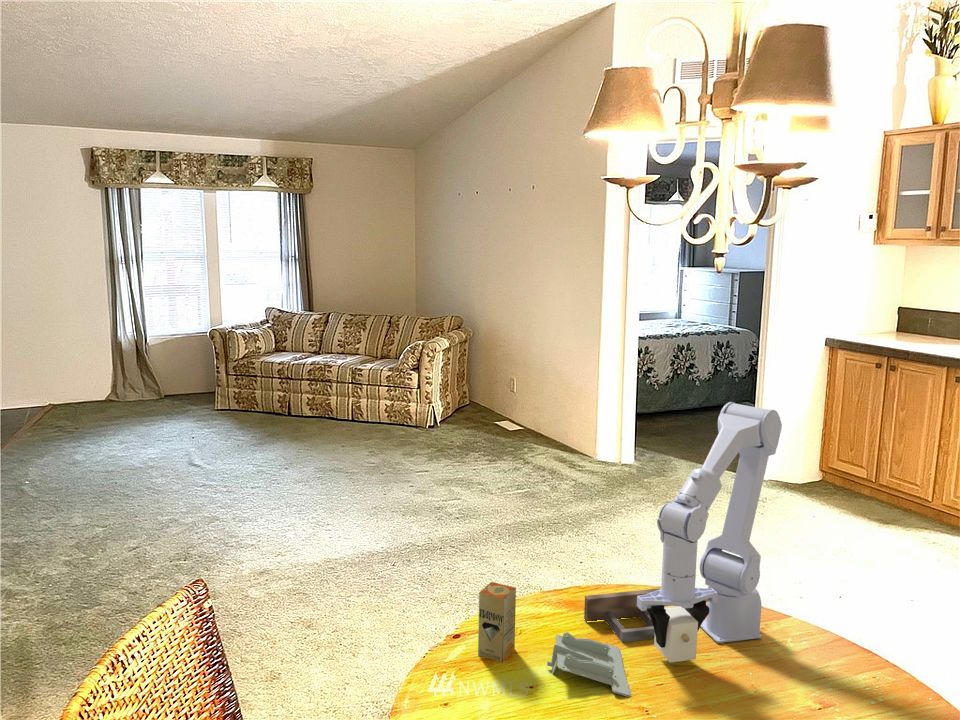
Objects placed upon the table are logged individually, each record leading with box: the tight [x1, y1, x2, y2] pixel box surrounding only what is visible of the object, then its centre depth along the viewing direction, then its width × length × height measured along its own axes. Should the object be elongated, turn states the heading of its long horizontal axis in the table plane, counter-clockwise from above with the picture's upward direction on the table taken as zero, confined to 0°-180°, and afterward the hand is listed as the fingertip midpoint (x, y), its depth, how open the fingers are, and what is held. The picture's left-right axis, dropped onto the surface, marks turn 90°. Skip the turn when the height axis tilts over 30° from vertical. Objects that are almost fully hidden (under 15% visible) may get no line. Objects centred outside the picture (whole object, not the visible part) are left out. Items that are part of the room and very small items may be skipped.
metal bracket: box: [546, 631, 632, 698], centre depth 134 cm, size 14×6×15 cm
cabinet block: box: [653, 606, 699, 664], centre depth 136 cm, size 5×7×7 cm
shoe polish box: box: [477, 581, 517, 663], centre depth 139 cm, size 5×5×12 cm
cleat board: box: [583, 587, 661, 643], centre depth 149 cm, size 16×10×5 cm, turn 103°
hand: (675, 642), depth 137 cm, fingers closed on cabinet block, 5 cm apart
